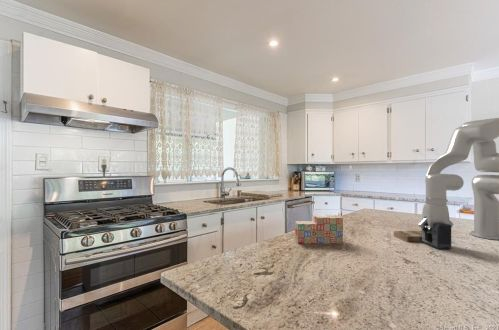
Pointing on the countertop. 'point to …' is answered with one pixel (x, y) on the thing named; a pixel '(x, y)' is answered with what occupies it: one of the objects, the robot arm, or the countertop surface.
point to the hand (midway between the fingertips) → (435, 240)
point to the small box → (439, 236)
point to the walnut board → (409, 235)
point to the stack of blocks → (320, 230)
